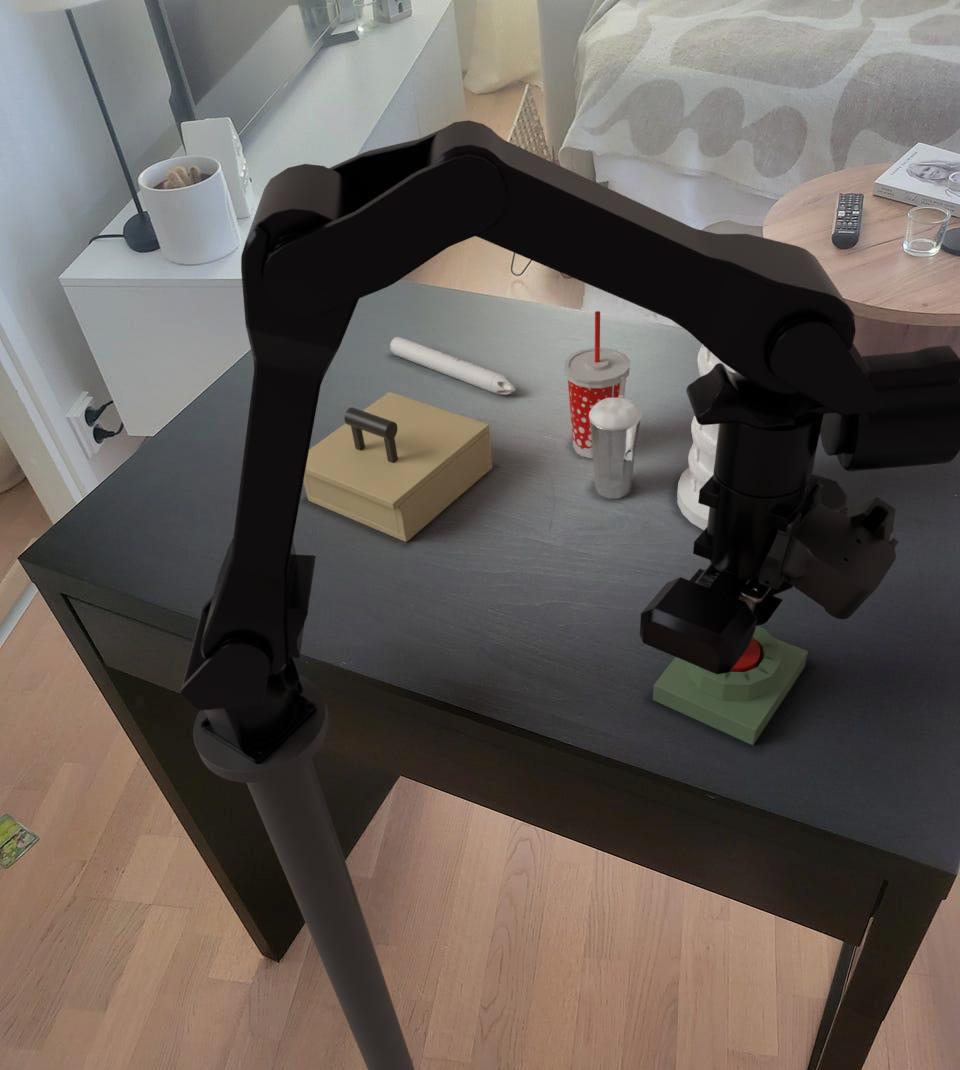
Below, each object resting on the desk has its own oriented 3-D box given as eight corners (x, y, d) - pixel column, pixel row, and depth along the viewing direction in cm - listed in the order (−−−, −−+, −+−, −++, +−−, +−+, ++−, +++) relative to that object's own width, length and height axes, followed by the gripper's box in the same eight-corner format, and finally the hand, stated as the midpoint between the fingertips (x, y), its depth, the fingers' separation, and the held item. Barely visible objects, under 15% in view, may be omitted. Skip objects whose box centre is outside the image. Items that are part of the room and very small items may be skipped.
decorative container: (835, 507, 85) (880, 317, 72) (735, 557, 81) (764, 366, 68) (746, 449, 92) (772, 267, 79) (650, 492, 88) (662, 308, 76)
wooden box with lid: (394, 509, 83) (385, 463, 79) (292, 468, 88) (281, 423, 85) (489, 430, 90) (485, 385, 87) (390, 397, 96) (383, 353, 93)
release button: (743, 691, 68) (746, 674, 67) (698, 671, 70) (700, 655, 68) (765, 660, 70) (768, 643, 69) (720, 641, 72) (722, 625, 70)
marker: (522, 394, 102) (521, 375, 101) (509, 403, 101) (508, 383, 100) (403, 350, 111) (400, 331, 110) (391, 357, 110) (388, 338, 109)
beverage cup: (607, 422, 97) (609, 290, 87) (639, 451, 93) (645, 316, 83) (554, 440, 96) (551, 308, 86) (584, 470, 92) (584, 335, 82)
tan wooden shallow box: (406, 542, 86) (399, 505, 83) (308, 500, 92) (298, 464, 89) (492, 467, 93) (489, 431, 90) (396, 433, 99) (390, 397, 96)
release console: (753, 745, 67) (759, 713, 64) (652, 700, 71) (654, 667, 68) (804, 666, 72) (812, 634, 69) (708, 627, 75) (712, 595, 73)
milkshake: (644, 473, 91) (649, 379, 83) (631, 506, 87) (635, 411, 80) (597, 467, 92) (598, 374, 85) (583, 499, 88) (583, 405, 81)
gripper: (831, 607, 49) (786, 787, 60) (949, 431, 59) (892, 613, 70) (640, 537, 54) (631, 715, 65) (778, 386, 64) (750, 562, 75)
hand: (734, 649), depth 68 cm, fingers closed, pressing on release button
